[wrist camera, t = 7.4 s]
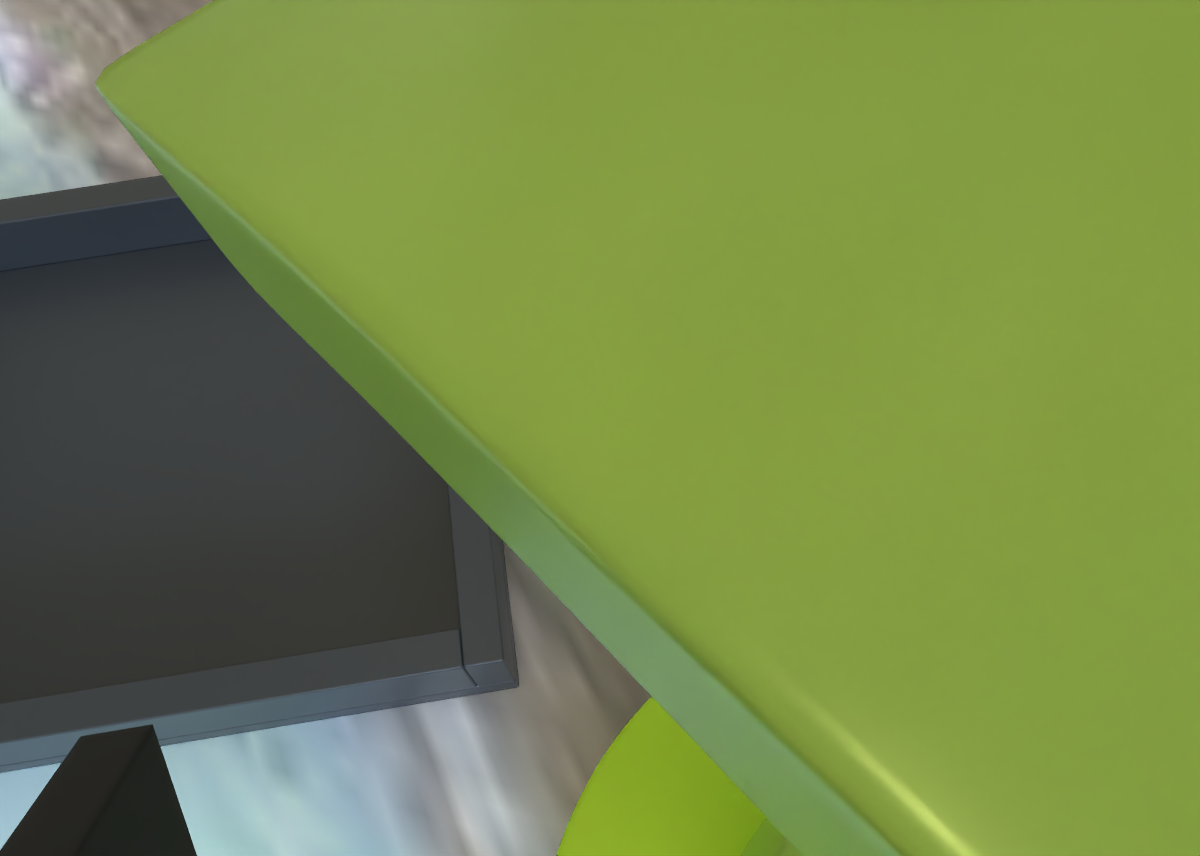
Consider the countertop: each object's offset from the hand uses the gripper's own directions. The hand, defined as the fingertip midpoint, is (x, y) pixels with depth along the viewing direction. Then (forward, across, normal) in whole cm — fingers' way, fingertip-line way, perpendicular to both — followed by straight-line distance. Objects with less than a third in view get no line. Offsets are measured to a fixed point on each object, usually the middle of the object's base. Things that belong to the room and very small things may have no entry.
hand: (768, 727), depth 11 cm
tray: (+14, +11, 0) cm, 18 cm away
